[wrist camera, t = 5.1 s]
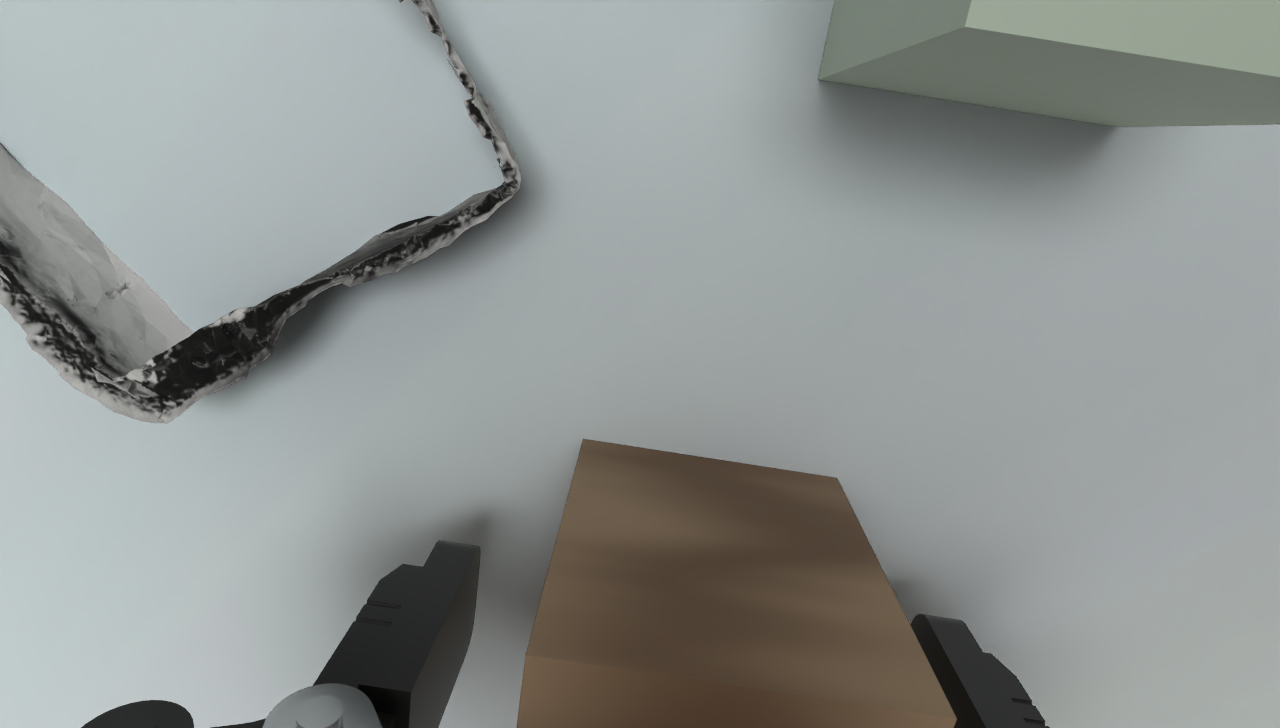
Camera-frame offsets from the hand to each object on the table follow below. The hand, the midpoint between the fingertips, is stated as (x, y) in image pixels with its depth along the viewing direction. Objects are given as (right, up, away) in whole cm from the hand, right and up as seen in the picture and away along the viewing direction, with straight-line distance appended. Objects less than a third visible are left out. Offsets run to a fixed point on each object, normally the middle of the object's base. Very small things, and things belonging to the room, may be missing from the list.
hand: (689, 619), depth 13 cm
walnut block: (0, +1, +2) cm, 2 cm away
